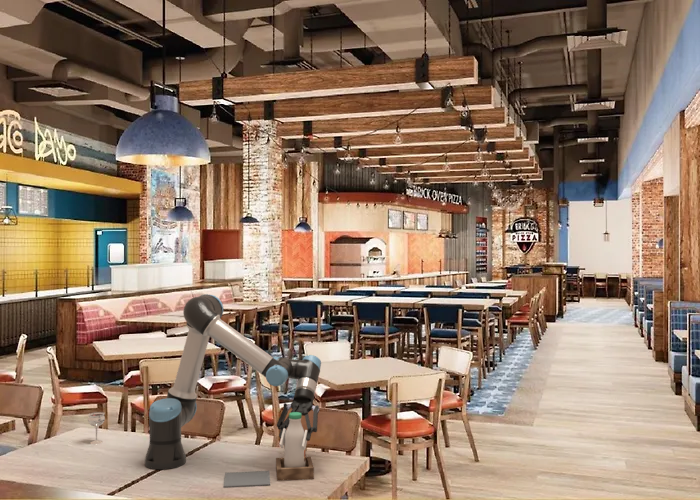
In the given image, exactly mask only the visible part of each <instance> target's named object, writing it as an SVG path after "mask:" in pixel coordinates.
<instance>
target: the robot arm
mask: <svg viewBox="0 0 700 500" xmlns="http://www.w3.org/2000/svg"><path fill="white" fill-rule="evenodd" d="M223 314H224V305H223V303H222V301H221V299H220V298H219V297H218V296H216V295H213V294H207V293H206V294H202V295H200V296H195V297H191V298H190V299H189V300H188V301H187V302H186V303H185V304H184V307H183V318H184V321H185V322H186V327H187V329H188V331H187V336H186V339H185V343H184V346H183V350H182V354H181V358H180V361H179V364H178V365H179V366H178V369H177V372H176V376H175V379H174V382H173V386H172V387H170V388H169V389H168V391H167V395H166V398H161V399H157V400H156V401H154V402H152V403H150V406H149V410H148V411H149V412H148V417H149V418H148V419H149V425H148V426H149V445H148V447H147V450H146V455H145V456H144V466H145V467H146V468H148V469H150V470H151V469H152V470H169V469H175V468H179V467H181V466H183V465H185V464H186V462H187V456H186V453H185V449H184V447H183V443H182V428H183V426H185V425H186V424H187V423H189V422H190V421H191V420H193V418H194V416H195V415H196V413H197V407H198V406H197V398H198V394H197V393H196V388H197V384H198V381H199V377H200V374H201V373H200V372H201V370H202V365H203V362H204V358H205V356H206V352H207V348H208V344H209V342H210V341H209V340H210V338H211V339H212V340H214V341H215V342H216V343H218V344H219V345H220V346H222V347H223V348H225V349H227V350H228V351H229V352H231V354H233V355H234V356H236V357H237V358H239V359H240V360H241V361H242V362H244V363H245V364H247V365H248V366H249V367H251V368H252V369H253V370H255V371H256V372H257V373H259V374H261V376H263V377H264V378H265V379H266V382H267V383H268V385H269V386H270V385H271V386H272V387H279V386H282V385H284V383H286V382H287V380H288V379H292V380H297V383H296V385H295V386H296V387H295V391H294V393H293V394H294V395H293V399H292V402H291V403H289V404H287V403H286V402H284V403H283V409H282V411H281V413H280V416H279V418H278V420H277V423H276V427H277V430H279V434H278V438H279V439H280V441H279V448H280V449H284V442H285V433H286V430H287V428H288V426H289V422H290V420H289V415H288V412H289V411H290V409H291V411H290V413H292V412H299V413H301V414H302V416H304V419H305V423H306V429H304V432H305V434H304V438H303V443H302V448H303V450H305V448H306V447H307V444H308V442H309V441H310V440H311V437H312V434H313V433H317V432H318V421H319V419H318V418H319V412H320V406H319V405H318V404H316V405H314V400H315V395H316V394H315V393H316V389H317V386H318V382H319V381H318V380H319V376H320V373H321V366H322V361H321V359H320V358H319V357H318V356H316V355H312V354H309V355H305V356H303V358H302V360H300V359H294V358H287V357H282V356H279V357H278V356H272V355H270V354H269V353H268V352H266V351H265V350H263V349H262V348H261V347H259V346H258V345H257V344H255V343H254V342H253V341H251V340H250V339H249V338H247V337H246V336H245V335H243V334H242V333H240V332H238V330H236V329H234V327H232V326H231V325H229V324H228V323H227V322H225V321H224V320H222V319H221V318H222V316H223ZM311 411H312V412H313V414H312V415H313V417H312V424H311V421H310V416H309V413H310V412H311ZM287 415H288V416H287Z"/></svg>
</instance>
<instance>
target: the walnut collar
mask: <svg viewBox="0 0 700 500" xmlns="http://www.w3.org/2000/svg"><path fill="white" fill-rule="evenodd" d="M314 469H315V467H314V464H313V460H312V456H309V455H308V456H305V467H290V468H285V467H284V457H276V458H275V472H276V481H299V480H302V479H304V480H314V478H315V473H314V471H315V470H314Z"/></svg>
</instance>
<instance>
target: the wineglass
mask: <svg viewBox="0 0 700 500" xmlns="http://www.w3.org/2000/svg"><path fill="white" fill-rule="evenodd" d="M105 415H106V412H104V411H94V412H90V413H88V414H87V416H88V417H87V422H88V424H89V425H91V427H94V428H95V440H93V441H91V442H90V443H89V444H91V445H100V444H102V443H103V442H104V441H102V440H98V428H99V427H100V426H101V425H103V424H104V422H105V420H106V417H105Z"/></svg>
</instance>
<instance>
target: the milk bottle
mask: <svg viewBox="0 0 700 500" xmlns="http://www.w3.org/2000/svg"><path fill="white" fill-rule="evenodd" d="M288 416H289V420H290V422H289V426H288V427H287V429H286V433H285V442H284V446H283V450H284V451H283V452H284V455H283V458H284V467H285V468H290V467H305V457H306V452H307V451H306V448H305V450H303V448H302V443H303V438H304V434H305V429H304V427H303V424H302V414H301V413H299V412H292V413H291V412H290V413H289V414H288Z"/></svg>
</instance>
